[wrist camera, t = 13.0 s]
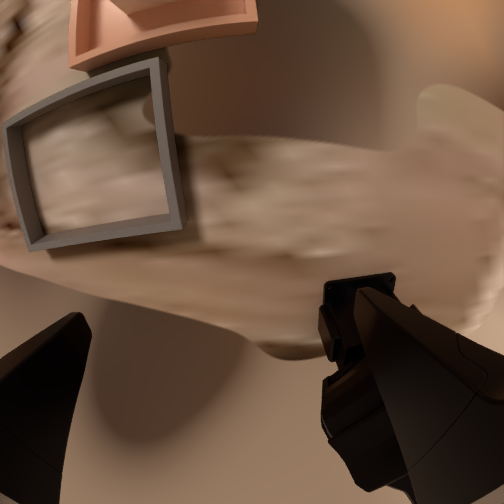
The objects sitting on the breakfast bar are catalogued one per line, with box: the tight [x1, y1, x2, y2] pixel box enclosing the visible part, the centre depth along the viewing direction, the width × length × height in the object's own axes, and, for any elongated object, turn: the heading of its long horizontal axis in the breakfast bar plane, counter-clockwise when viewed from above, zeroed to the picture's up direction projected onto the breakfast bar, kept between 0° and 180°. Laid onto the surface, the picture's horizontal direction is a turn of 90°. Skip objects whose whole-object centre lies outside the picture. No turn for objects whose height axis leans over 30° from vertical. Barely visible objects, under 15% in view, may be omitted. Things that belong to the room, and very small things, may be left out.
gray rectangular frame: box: [2, 57, 188, 252], centre depth 16 cm, size 14×11×2 cm
